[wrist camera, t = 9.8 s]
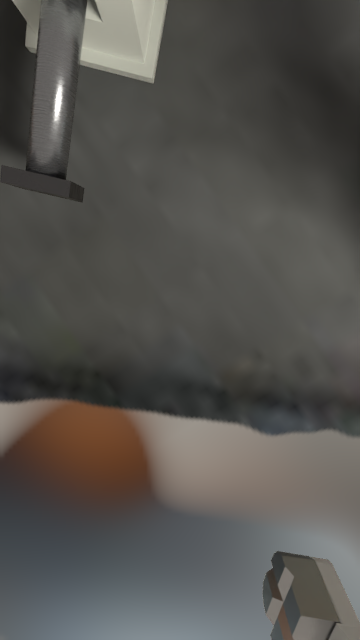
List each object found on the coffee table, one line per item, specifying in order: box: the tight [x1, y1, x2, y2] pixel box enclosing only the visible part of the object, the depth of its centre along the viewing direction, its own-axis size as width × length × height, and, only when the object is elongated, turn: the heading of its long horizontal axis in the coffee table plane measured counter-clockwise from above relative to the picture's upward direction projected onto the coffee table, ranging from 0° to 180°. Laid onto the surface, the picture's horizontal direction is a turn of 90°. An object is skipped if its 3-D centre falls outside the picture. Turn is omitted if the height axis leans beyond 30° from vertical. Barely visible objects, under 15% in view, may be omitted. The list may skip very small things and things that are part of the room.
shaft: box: [1, 0, 87, 202], centre depth 24 cm, size 19×5×4 cm, turn 167°
